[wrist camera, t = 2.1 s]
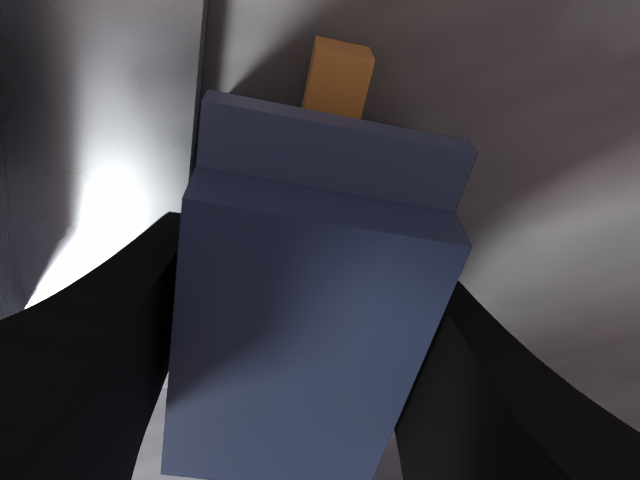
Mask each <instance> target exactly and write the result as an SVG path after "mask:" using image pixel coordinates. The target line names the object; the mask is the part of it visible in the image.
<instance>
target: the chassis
mask: <svg viewBox="0 0 640 480" xmlns="http://www.w3.org/2000/svg"><path fill="white" fill-rule="evenodd" d="M207 12H208V0H0V320H2V319H4V318H6V317H9V316H11V315H13V314H15V313H18V312H20V311H22V310H24V309H26V308H28V307H30V306H32V305H34V304H36V303H38V302H39V301H41V300H43V299H45V298H47V297H49V296H51V295H53V294H55V293H56V292H58V291H60V290H61V289H63V288H65V287H66V286H68V285H70V284H71V283H73V282H74V281H76V280H77V279H79V278H81V277H82V276H84V275H85V274H87V273H88V272H90V271H91V270H93V269H94V268H96V267H97V266H99V265H100V264H102V263H103V262H105V261H106V260H107V259H109V258H110V257H111V256H113V255H114V254H115V253H117V252H118V251H119V250H121V249H122V248H123V247H125V246H126V245H127V244H129V243H130V242H131V241H133V240H134V239H135V238H136V237H138V236H139V235H140V234H141V233H143V232H144V231H145V230H146V229H147V228H149V227H150V226H151V225H152V224H153V223H155V222H156V221H157V220H158V219H159V218H161V217H162V216H163V215H164V214H166V213H168V212H169V211H171V212H177V213H181V205H182V197H183V195H184V192H185V190H186V188H187V185H188V183H189V181H190V178H191V176H192V174H193V171H194V161H195V150H196V138H197V127H198V115H199V104H200V92H201V81H202V69H203V58H204V46H205V35H206V23H207ZM168 373H169V371H168ZM167 386H168V374H167V377H166V379H165V382H164V384H163V387H162V388H164V389H167Z"/></svg>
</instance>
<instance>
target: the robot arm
mask: <svg viewBox="0 0 640 480" xmlns="http://www.w3.org/2000/svg"><path fill="white" fill-rule="evenodd" d="M180 218H181V213H177V212H171V211H169V212H168V213H166V214H164V215H163V216H162V217H161V218H159V219H158V220H157V221H156V222H155V223H153V224H152V225H151V226H150V227H149V228H147V229H146V230H145V231H144V232H143V233H141V234H140V235H139V236H138V237H136V238H135V239H134V240H133V241H131V242H130V243H129V244H127V245H126V246H125V247H123V248H122V249H121V250H119V251H118V252H117V253H115V254H114V255H113V256H111V257H110V258H109V259H107V260H106V261H105V262H103V263H102V264H100V265H99V266H97V267H96V268H94V269H93V270H91V271H90V272H88V273H87V274H85V275H84V276H82V277H81V278H79V279H77V280H76V281H74V282H73V283H71V284H70V285H68V286H66V287H65V288H63V289H61V290H60V291H58V292H56V293H55V294H53V295H51V296H49V297H47V298H45V299H43V300H41V301H39V302H38V303H36V304H34V305H32V306H30V307H28V308H26V309H24V310H22V311H20V312H18V313H15V314H13V315H11V316H9V317H6V318H4V319H2V320H0V480H131V478H132V475H133V471H134V467H135V464H136V460H137V456H138V453H139V449H140V446H141V443H142V440H143V437H144V434H145V431H146V429H147V426H148V423H149V421H150V418H151V416H152V413H153V410H154V408H155V405H156V403H157V400H158V397H159V395H160V392H161V390H162V387H163V384H164V382H165V379H166V377H167V374H168V371H169V360H170V347H171V334H172V322H173V309H174V296H175V283H176V270H177V257H178V244H179V231H180ZM394 430H395V436H396V441H397V446H398V451H399V456H400V462H401V468H402V475H403V480H640V432H638V431H637V430H635V429H633V428H632V427H630V426H629V425H627V424H626V423H624V422H623V421H621V420H620V419H618V418H617V417H615V416H614V415H612V414H611V413H609V412H608V411H607V410H605V409H604V408H602V407H601V406H599V405H598V404H596V403H595V402H593V401H592V400H591V399H589V398H588V397H586V396H585V395H584V394H582V393H581V392H580V391H578V390H577V389H576V388H574V387H573V386H572V385H570V384H569V383H568V382H567V381H565V380H564V379H563V378H562V377H560V376H559V375H558V374H556V373H555V372H554V371H553V370H551V369H550V368H549V367H548V366H546V365H545V364H544V363H543V362H542V361H540V360H539V359H538V358H537V357H536V356H535V355H533V354H532V353H531V352H530V351H529V350H528V349H527V348H525V347H524V346H523V345H522V344H521V343H520V342H519V341H518V340H517V339H516V338H515V337H514V336H512V335H511V334H510V333H509V332H508V331H507V330H506V329H505V328H504V327H503V326H502V325H501V324H500V323H499V322H498V321H497V320H496V319H495V318H494V317H493V316H492V315H491V314H490V313H489V312H488V311H487V310H486V309H485V308H484V307H483V306H482V305H481V304H480V303H479V302H478V301H477V300H476V299H475V298H474V297H473V296H472V295H471V294H470V293H469V292H468V291H467V289H466V288H465V287H464V286H463V285H462V284H461V283H460V282H459V281H457V283H456V285H455V288H454V290H453V292H452V295H451V297H450V299H449V302H448V304H447V306H446V309H445V311H444V313H443V316H442V318H441V320H440V323H439V325H438V327H437V330H436V332H435V334H434V337H433V339H432V341H431V344H430V346H429V348H428V351H427V353H426V355H425V358H424V360H423V362H422V365H421V367H420V369H419V372H418V374H417V376H416V379H415V381H414V383H413V386H412V388H411V390H410V393H409V395H408V397H407V400H406V402H405V404H404V407H403V409H402V411H401V414H400V416H399V418H398V421H397V423H396V425H395V428H394Z"/></svg>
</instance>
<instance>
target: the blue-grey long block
mask: <svg viewBox="0 0 640 480" xmlns="http://www.w3.org/2000/svg"><path fill="white" fill-rule="evenodd" d="M375 61H376V60H375V58H374V56H373V54H372V51H371V49H370V47H367V46H362V45H358V44H353V43H348V42H344V41H339V40H334V39H330V38H325V37H320V36H315V41H314V46H313V51H312V56H311V62H310V67H309V72H308V77H307V82H306V88H305V93H304V98H303V103H302V108H301V107H296V106H291V105H286V104H281V103H275V102H270V101H265V100H260V99H255V98H250V97H245V96H240V95H235V94H230V93H224V92H219V91H214V90H209V89H207V91H206V93H205V95H204V97H203V98H202V102H201V113H200V124H199V136H198V147H197V158H196V167H195V169H194V171H193V174H192V176H191V178H190V181H189V183H188V185H187V188H186V190H185V192H184V195H183V197H182V205H181V218H180V231H179V244H178V257H177V270H176V283H175V296H174V309H173V322H172V334H171V347H170V360H169V373H168V386H167V399H166V412H165V425H164V438H163V451H162V464H161V474H162V475H171V476H181V477H191V478H200V479H210V480H372V479H373V476H374V474H375V472H376V469H377V467H378V465H379V462H380V460H381V458H382V455H383V453H384V451H385V448H386V446H387V444H388V442H389V439H390V437H391V435H392V432H393V430H394V428H395V425H396V423H397V421H398V418H399V416H400V414H401V411H402V409H403V407H404V404H405V402H406V400H407V397H408V395H409V393H410V390H411V388H412V386H413V383H414V381H415V379H416V376H417V374H418V372H419V369H420V367H421V365H422V362H423V360H424V358H425V355H426V353H427V351H428V348H429V346H430V344H431V341H432V339H433V337H434V334H435V332H436V330H437V327H438V325H439V323H440V320H441V318H442V316H443V313H444V311H445V309H446V306H447V304H448V302H449V299H450V297H451V295H452V292H453V290H454V288H455V285H456V283H457V281H458V278H459V276H460V274H461V271H462V269H463V267H464V264H465V262H466V260H467V257H468V255H469V253H470V250H471V248H472V246H471V244H470V242H469V240H468V238H467V236H466V234H465V232H464V230H463V228H462V226H461V224H460V222H459V219H458V217H457V215H456V213H455V211H456V208H457V205H458V203H459V200H460V198H461V195H462V193H463V190H464V188H465V185H466V182H467V180H468V177H469V175H470V172H471V170H472V167H473V165H474V162H475V160H476V157H477V154H478V153H477V151H476V150H475V148H474V147H473V145H472V144H471V143H470V141H469V140H464V139H459V138H454V137H449V136H444V135H439V134H434V133H428V132H423V131H418V130H413V129H408V128H403V127H398V126H393V125H388V124H383V123H377V122H372V121H367V120H362V119H361V116H362V112H363V108H364V104H365V100H366V96H367V92H368V88H369V85H370V81H371V77H372V73H373V69H374V65H375Z"/></svg>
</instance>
